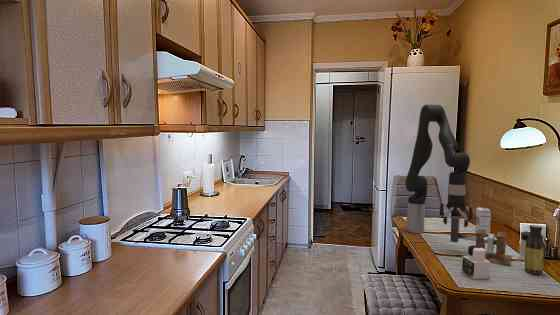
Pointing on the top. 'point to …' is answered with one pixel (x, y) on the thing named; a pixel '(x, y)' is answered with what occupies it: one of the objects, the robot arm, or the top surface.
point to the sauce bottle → (534, 251)
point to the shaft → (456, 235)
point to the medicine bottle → (476, 263)
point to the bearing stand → (500, 248)
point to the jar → (524, 244)
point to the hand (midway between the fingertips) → (455, 225)
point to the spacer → (490, 243)
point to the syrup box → (483, 219)
